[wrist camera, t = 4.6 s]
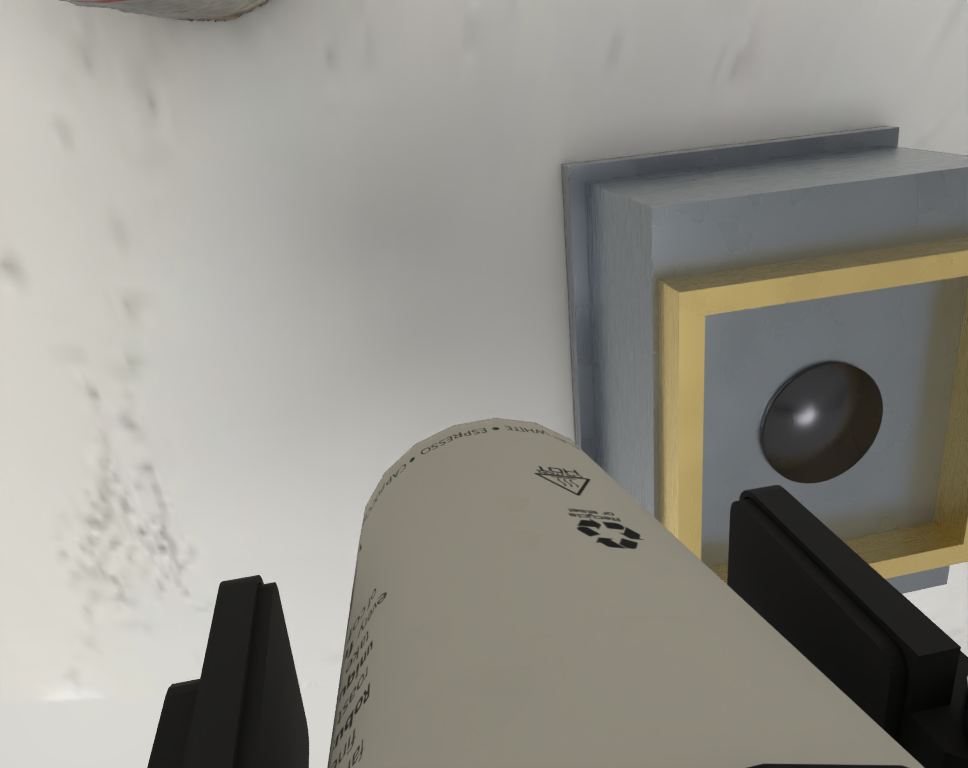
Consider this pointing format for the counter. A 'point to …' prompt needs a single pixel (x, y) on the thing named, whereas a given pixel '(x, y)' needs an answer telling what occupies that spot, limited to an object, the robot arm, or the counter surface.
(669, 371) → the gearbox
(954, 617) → the counter surface
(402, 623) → the coffee cup
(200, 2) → the spray can
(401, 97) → the counter surface
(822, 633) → the robot arm
